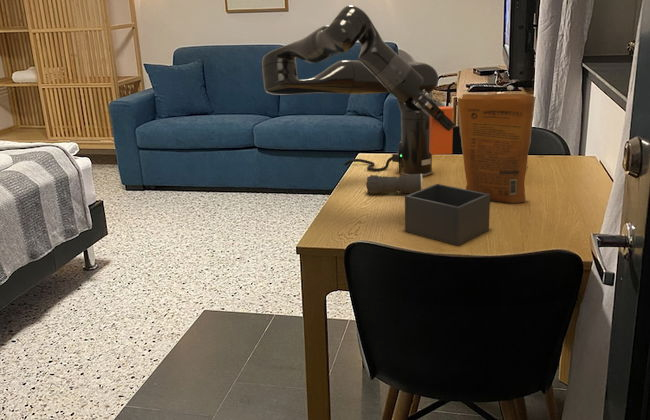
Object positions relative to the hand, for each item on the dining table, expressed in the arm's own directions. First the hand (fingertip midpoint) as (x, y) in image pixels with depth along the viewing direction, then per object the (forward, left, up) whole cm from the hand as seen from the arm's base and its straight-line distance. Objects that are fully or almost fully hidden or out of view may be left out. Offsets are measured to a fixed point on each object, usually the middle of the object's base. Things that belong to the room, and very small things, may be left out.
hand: (449, 126), depth 158 cm
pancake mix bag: (+3, +16, -22) cm, 28 cm away
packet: (-1, -1, -6) cm, 7 cm away
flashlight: (-21, +5, -22) cm, 31 cm away
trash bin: (+7, -11, -22) cm, 25 cm away
